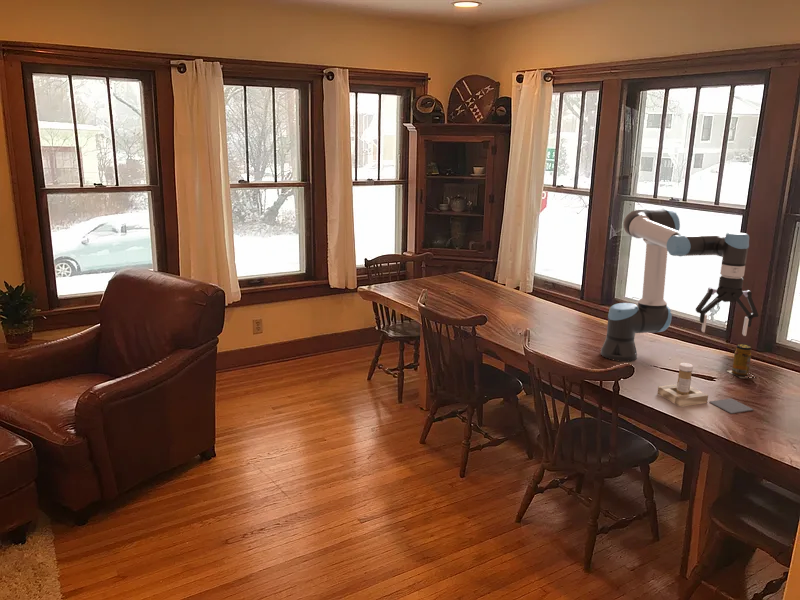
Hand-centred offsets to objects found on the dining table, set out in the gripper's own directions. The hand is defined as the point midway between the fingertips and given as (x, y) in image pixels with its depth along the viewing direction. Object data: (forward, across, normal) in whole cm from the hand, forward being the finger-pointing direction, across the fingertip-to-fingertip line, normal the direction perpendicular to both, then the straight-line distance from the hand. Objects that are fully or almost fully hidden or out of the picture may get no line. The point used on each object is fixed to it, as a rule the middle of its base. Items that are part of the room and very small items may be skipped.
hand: (723, 333), depth 226 cm
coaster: (+25, +4, -8) cm, 27 cm away
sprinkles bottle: (+25, -12, -5) cm, 28 cm away
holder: (+25, -12, -5) cm, 28 cm away
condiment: (+25, +15, +28) cm, 41 cm away
